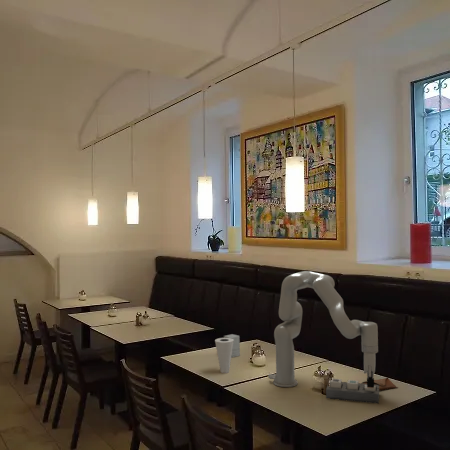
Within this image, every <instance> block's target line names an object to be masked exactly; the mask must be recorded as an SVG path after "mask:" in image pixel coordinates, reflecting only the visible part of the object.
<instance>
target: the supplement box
mask: <svg viewBox="0 0 450 450" xmlns="http://www.w3.org/2000/svg"><path fill="white" fill-rule="evenodd" d="M223 338H231V339H233V340H234V342H233V349H232V355H231V359H232V358H236V357H240V356H241V349H240V346H241V345H240V343H241V341H240V335H237V334H233V333H231V334H227V335H223Z"/></svg>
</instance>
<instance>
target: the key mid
mask: <svg viewBox="0 0 450 450" xmlns="http://www.w3.org/2000/svg"><path fill="white" fill-rule="evenodd" d="M346 382H347V389H356V390H358V389H359V383H360V382H359V380H353V379H347V381H346Z"/></svg>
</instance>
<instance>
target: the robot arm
mask: <svg viewBox="0 0 450 450" xmlns="http://www.w3.org/2000/svg"><path fill="white" fill-rule="evenodd" d="M306 288H311V289H313V290H314V292H315V293H316V294H317V296H318V297H319V298H320V299H321V301H322V302H323V304H324V305H325V306H326V307H327V308H326V309H328V312H329V315H330V316H331V319H332V321H333V324H334V325H335V326H336V328H337V329H338V330H339V332H340V334H341V335H342V336H343V337H345V338H346V339H349V340H352V339H355V338H356V337H358V336H361V337H360V338H361V352H362V353H363V373H364V374H366V381H367V387H374V380H375V378H374V374H375V372H376V357H377V356H376V354H377V353H379V339H378V337H379V332H378V330H379V329H378V323H376V322H373V321H362V320H359V319H352V320H350V319H349V317H348V315H347V314H346V312H345V309H344V299H343V298H342V297H341V295H340V294H339V293H338V292H337V290H336V289H335V280H334V279H333V277H332V276H330V275H328V274H323V273H318V272H315V271H309V270H304V271H303V270H302V271H299V272H296V273H295V272H294V273H292V274H290V275H288V276H286V277H284V279H283V281H282V283H281V289H280V296H279V297H280V299H279V306H278V307H279V308H278V317H279V319H281V321H283V322H282V323H279V324H278V325H277V326H276V327H275V328H274V332H273V337H274V345H275V373H274V374H271V373H268V376H267V378H269V380H273V385H274V386H276V387H281V388H293V387H295V386H297V385H298V380H297V379H295V346H294V342H293V339H295V338H297V337H298V336H299V335H300V332H301V328H302V321H303V307H302V304H301V303H300V302H298V301H297V299H298V293H297V292H298V290H302V289H306Z"/></svg>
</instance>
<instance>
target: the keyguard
mask: <svg viewBox="0 0 450 450" xmlns="http://www.w3.org/2000/svg"><path fill="white" fill-rule="evenodd" d="M347 382H348V381H342V388H333V387H329V386H328V385H327V386H326V390H325V396H326V397H325V399H326V398H330V399H329V400H335V399H339V400H338V401H346V400H347V402H356V403H357V402H359V403H367V404H368V403H369V404H379V402H380V391H379V385H374V386H376V391H368V390H364V388H365V385H367V384H361V383H362V382H361V383H360V382H358V383H359V389H358V390H356V389H347Z"/></svg>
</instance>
